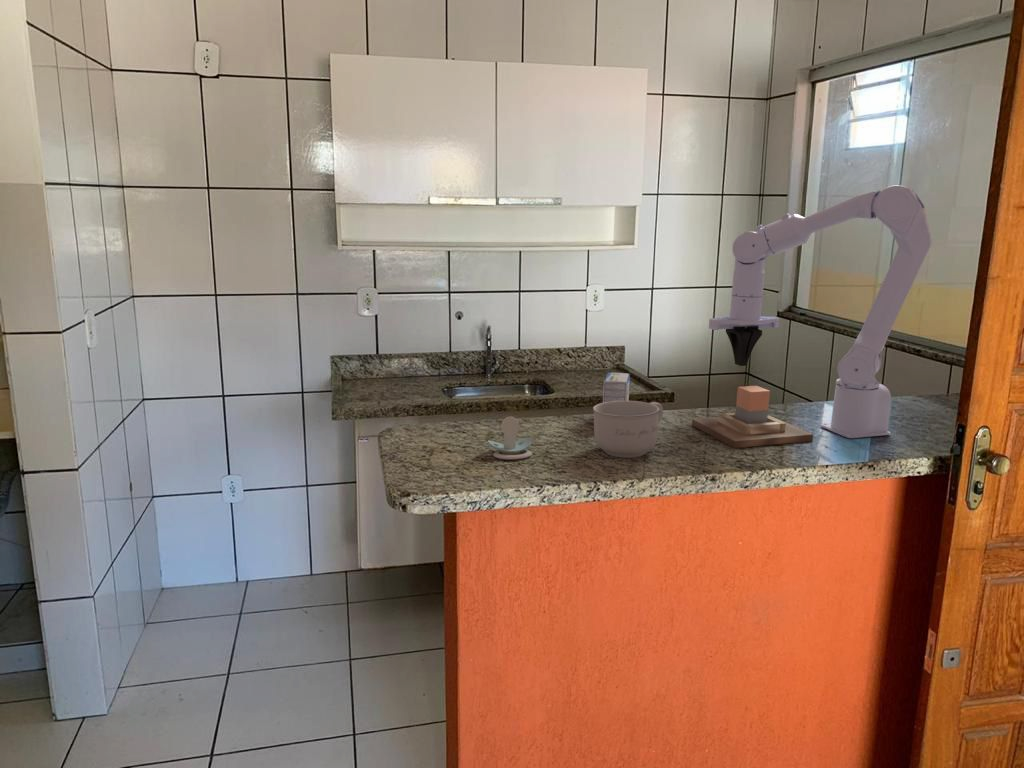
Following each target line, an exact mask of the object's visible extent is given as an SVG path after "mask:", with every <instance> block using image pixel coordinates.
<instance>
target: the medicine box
mask: <svg viewBox="0 0 1024 768" xmlns="http://www.w3.org/2000/svg"><path fill="white" fill-rule="evenodd" d="M630 375H631V374H630V373H627V372H626V373H624V372H607V375H606V376H605V380H604V381H603V387H602V389H603V390H602V403H604V402H610V401H630V400H629V397H630V383H631V382H630V381H631V380H630V379H631V378H630V377H631V376H630Z"/></svg>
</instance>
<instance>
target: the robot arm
mask: <svg viewBox="0 0 1024 768" xmlns="http://www.w3.org/2000/svg"><path fill="white" fill-rule="evenodd" d="M780 218H781V219H779V220H776V221H773V222H771V223H767V224H766V225H764V226H763V224H759V225H757V226H756V227H755V229H756V231H751V230H750V231H749V230H748V231H744V232H743V233H741V234H740V235H739V236H737V237H736V238H735V239H734V241H733V243H732V253H733V256H734V258H735V260H734V270H733V276H732V286H731V299H730V311H729V312H730V313H729V316H723V317H715V318H709V320H708V321H709V323H708V329H710V330H713V331H719V330H725V333H726V335H727V337H728V339H729V343H730V345H731V348H732V352H733V353H732V354H733V358H734V364H735V365H736V366H739V367H746V366H747V365H748V362H749V360H750V357H751V355H752V352H753V350H754V348H755V346H756V344H757V342H758V341H759V339H760V338H761V337H762V335H763V330H761V329H760V328H763V329H764V328H774V329H776V328H777V329H778V328H780V317H778V316H777V317H776V316H762V306H763V296H764V295H763V294H764V286H765V278H766V277H765V276H766V272H765V269H766V259H767V258H768V257H769V256H776V255H778V254H781V253H784V252H786V251H788V250H791V249H794V248H797V247H800V246H803V245H805V244H807V242H808V241H809V239H810V237H811V235H812V234H814V233H816V232H819V231H822V230H824V229H828V228H831V227H833V226H836V225H840V224H842V223H844V222H845V223H846V222H847V221H850V220H853V219H856V218H858V219H867V220H868V219H870V220H872V219H878V220H879V221H880V222H881V223H882V224H883V225H884V226H886V228H888V229H889V230H890V232H891V235H892V236H893V239H894V241H895V242H896V243H897V246H898V248H897V250H896V252H895V254H894V256H893V259H892V260H891V263H890V265H889V267H888V270H887V272H886V274H885V276H884V279H883V281H882V283H881V285H880V287H879V290H878V292H877V294H876V297H875V299H874V301H873V303H872V304H871V308H870V310H869V312H868V314H867V316H866V318H865V321H864V322H863V325H862V326H861V327H862V328H861V329H860V330H859V331H860V332H859V333H858V335H857V337H856V339H855V341H854V342H853V344H852V347H851V348H850V349H849V350H848V351H847V352H846V354H845V355H844V356H842V358H841V359H840V360H839V362H838V364H837V370H836V371H837V375H838V377H839V378H837V379H836V381H835V389H834V397H833V406H832V411H831V412H832V413H831V414H832V415H831V422H827V423H820V424H819V427H820V428H823V429H825V430H828V431H831V432H832V433H835V434H838V435H840V436H842V437H845V438H848V439H858V438H868V437H870V438H871V437H879V436H880V437H881V436H890V435H891V431H889V429H888V428H889V422H890V415H891V408H892V407H891V406H892V394H891V391H890V389H888V388H887V386H885V385H883V384H882V383H880V382H879V381H878V380H877V378H876V374H877V373H879V371H880V370H881V367H882V361H883V360H882V352H883V349H884V347H885V345H886V343H887V340H888V337H889V335H890V334H891V331H892V329H893V327H894V325H895V323H896V320H897V319H898V316H899V314H900V312H901V310H902V307H904V304H905V301H906V299H907V297H908V295H909V293H910V291H911V289H912V286H913V285H914V282H915V280H916V278H917V276H918V273H919V272H920V270H921V267H922V265H923V263H924V261H925V260H926V259H925V258H926V257H927V254H928V252H929V250H930V248H931V246H932V236H931V232H930V227H929V222H928V218H927V214H926V207H925V204H924V203H923V201H922V200H921V198H920V197H919V195H918V194H917V192H915V191H914V189H911V188H910V187H907V186H903V185H899V184H898V185H890V186H887V187H885V188H883V189H882V190H880V189H878V190H877V189H876V190H873V191H869V192H865V193H862V194H861V193H860V194H857V195H855V196H853V197H851V198H848V199H845V200H844V201H841V202H839V203H838V202H837V204H834V205H832V206H829V207H827V208H825V209H822V210H820V211H817V212H815V213H813V214H810V215H808V216H806V217H804V216H803V215H800V214H797V213H794V214H791V215H790V213H785V214H783V215H781V216H780Z"/></svg>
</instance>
